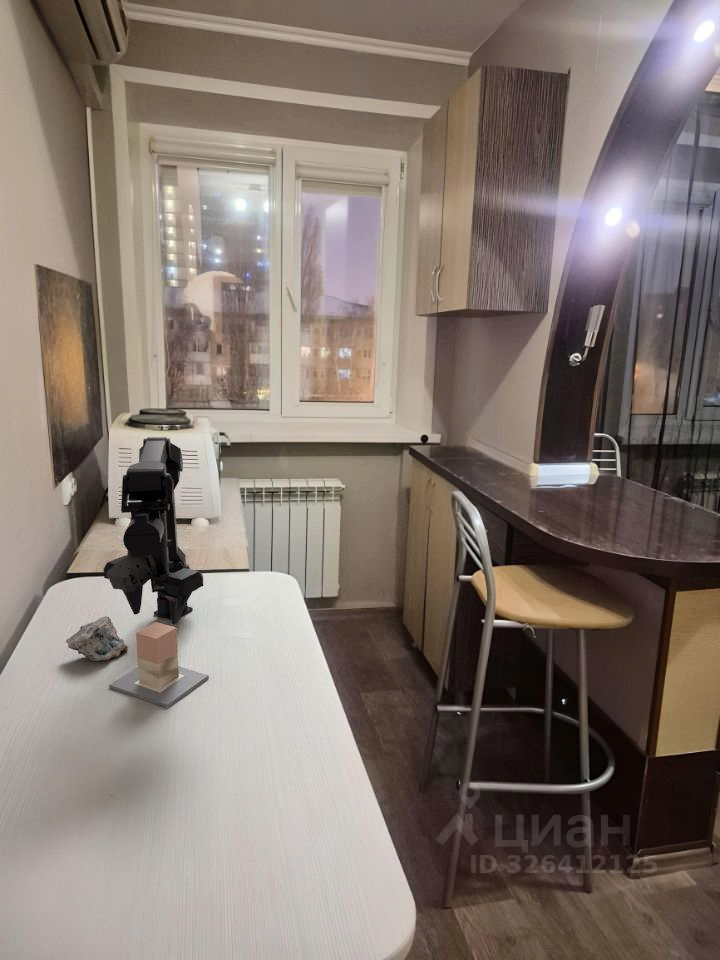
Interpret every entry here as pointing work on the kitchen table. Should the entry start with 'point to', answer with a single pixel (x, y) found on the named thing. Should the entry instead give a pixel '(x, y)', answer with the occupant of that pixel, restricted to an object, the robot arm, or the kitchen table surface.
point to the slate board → (166, 693)
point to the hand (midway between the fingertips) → (155, 618)
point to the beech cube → (158, 671)
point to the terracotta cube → (156, 642)
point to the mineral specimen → (97, 640)
